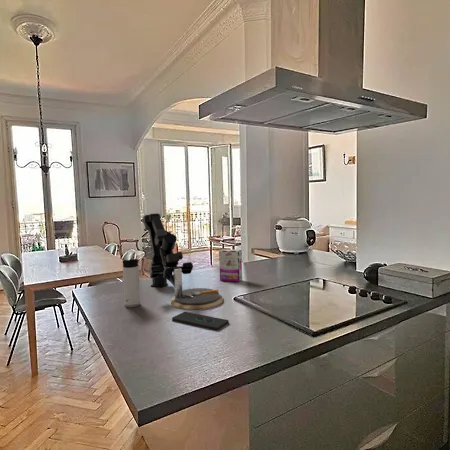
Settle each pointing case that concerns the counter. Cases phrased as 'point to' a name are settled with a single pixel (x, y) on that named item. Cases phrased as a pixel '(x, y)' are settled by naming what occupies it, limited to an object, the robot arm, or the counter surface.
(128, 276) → the travel mug
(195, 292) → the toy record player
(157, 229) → the robot arm
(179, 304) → the oak stand
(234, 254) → the candy bar box
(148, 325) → the counter surface
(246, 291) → the counter surface
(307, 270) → the counter surface
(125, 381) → the counter surface
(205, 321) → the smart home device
